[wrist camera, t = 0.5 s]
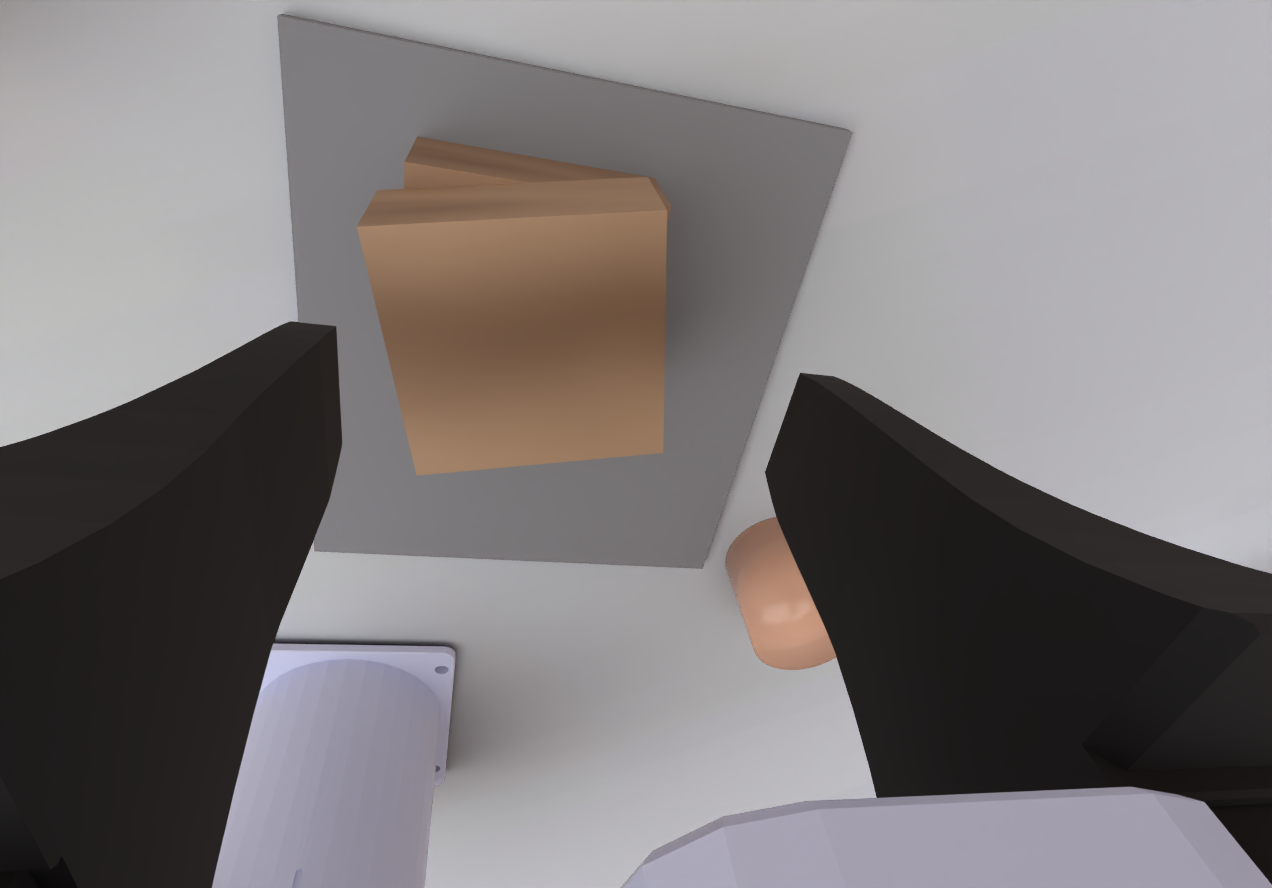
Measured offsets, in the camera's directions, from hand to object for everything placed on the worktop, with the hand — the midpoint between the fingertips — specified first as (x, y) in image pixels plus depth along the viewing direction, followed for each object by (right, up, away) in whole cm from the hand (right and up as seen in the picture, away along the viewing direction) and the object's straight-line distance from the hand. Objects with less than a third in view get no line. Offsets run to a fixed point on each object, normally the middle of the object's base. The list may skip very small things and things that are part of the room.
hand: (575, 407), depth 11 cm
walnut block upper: (-2, +3, +6) cm, 7 cm away
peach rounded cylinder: (+6, -5, +17) cm, 19 cm away
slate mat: (-2, +2, +11) cm, 11 cm away
